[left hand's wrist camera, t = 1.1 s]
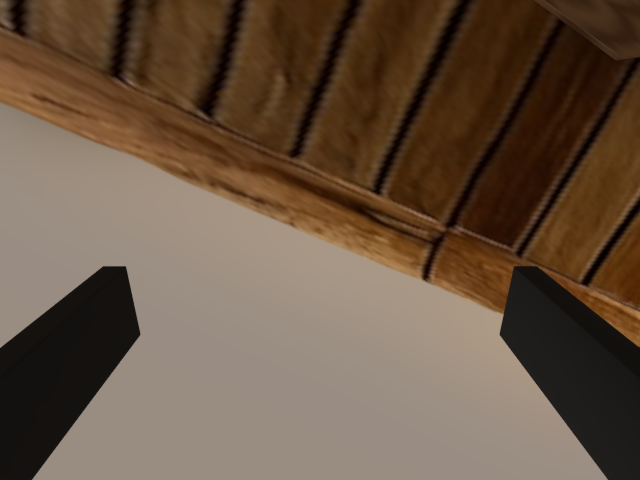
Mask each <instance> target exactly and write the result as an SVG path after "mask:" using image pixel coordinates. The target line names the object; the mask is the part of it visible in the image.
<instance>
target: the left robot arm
mask: <svg viewBox="0 0 640 480" xmlns="http://www.w3.org/2000/svg"><path fill="white" fill-rule="evenodd" d="M139 336H140V330H139V325H138V321H137V316H136V311H135V307H134V302H133V298H132V293H131V288H130V283H129V279H128V274H127V270H126V266H103V267H102V268H101V269H99V270H98V271H97V272H96V273H94V274H93V275H92V276H91V277H89V278H88V279H87V280H86V281H84V282H83V283H82V284H80V285H79V286H78V287H77V288H75V289H74V290H73V291H72V292H70V293H69V294H68V295H67V296H65V297H64V298H63V299H62V300H60V301H59V302H58V303H57V304H55V305H54V306H53V307H51V308H50V309H49V310H48V311H46V312H45V313H44V314H43V315H41V316H40V317H39V318H38V319H36V320H35V321H34V322H33V323H31V324H30V325H29V326H27V327H26V328H25V329H24V330H22V331H21V332H20V333H19V334H17V335H16V336H15V337H14V338H12V339H11V340H10V341H9V342H7V343H6V344H5V345H3V346H2V347H1V348H0V480H32V479H33V478H34V476H35V475H36V474H37V472H38V471H39V470H40V468H41V467H42V466H43V464H44V463H45V462H46V460H47V459H48V457H49V456H50V455H51V454H52V452H53V451H54V450H55V448H56V447H57V446H58V444H59V443H60V442H61V440H62V439H63V437H64V436H65V435H66V433H67V432H68V431H69V429H70V428H71V427H72V425H73V424H74V423H75V421H76V420H77V419H78V417H79V416H80V415H81V413H82V412H83V411H84V409H85V408H86V407H87V405H88V404H89V403H90V401H91V400H92V399H93V397H94V396H95V395H96V393H97V392H98V391H99V389H100V388H101V387H102V385H103V384H104V383H105V381H106V380H107V379H108V377H109V376H110V375H111V373H112V372H113V371H114V369H115V368H116V367H117V365H118V364H119V363H120V361H121V360H122V359H123V357H124V356H125V355H126V353H127V352H128V351H129V349H130V348H131V347H132V345H133V344H134V343H135V341H136V340H137V339H138V337H139ZM500 336H501V337H502V339H503V340H504V341H505V343H506V344H507V345H508V347H509V348H510V349H511V351H512V352H513V353H514V355H515V356H516V357H517V359H518V360H519V361H520V363H521V364H522V365H523V367H524V368H525V369H526V371H527V372H528V373H529V375H530V376H531V377H532V379H533V380H534V381H535V383H536V384H537V385H538V387H539V388H540V389H541V391H542V392H543V393H544V395H545V396H546V397H547V399H548V400H549V401H550V403H551V404H552V405H553V407H554V408H555V409H556V411H557V412H558V413H559V415H560V416H561V417H562V419H563V420H564V421H565V423H566V424H567V425H568V427H569V428H570V429H571V431H572V432H573V433H574V435H575V436H576V437H577V439H578V440H579V441H580V443H581V444H582V446H583V447H584V448H585V449H586V451H587V452H588V454H589V455H590V456H591V457H592V459H593V460H594V462H595V463H596V464H597V466H598V467H599V468H600V469H601V471H602V472H603V474H604V475H605V476H606V477H607V479H608V480H640V347H638V346H637V345H635V344H634V343H633V342H631V341H630V340H629V339H628V338H626V337H625V336H624V335H623V334H621V333H620V332H619V331H618V330H616V329H615V328H614V327H613V326H611V325H610V324H609V323H608V322H606V321H605V320H604V319H602V318H601V317H600V316H599V315H597V314H596V313H595V312H594V311H592V310H591V309H590V308H589V307H587V306H586V305H585V304H584V303H582V302H581V301H580V300H578V299H577V298H576V297H575V296H573V295H572V294H571V293H570V292H568V291H567V290H566V289H565V288H563V287H562V286H561V285H560V284H558V283H557V282H556V281H555V280H553V279H552V278H551V277H549V276H548V275H547V274H546V273H544V272H543V271H542V270H541V269H539V268H538V267H537V266H514V269H513V274H512V279H511V283H510V288H509V293H508V297H507V302H506V307H505V311H504V316H503V321H502V325H501V330H500Z"/></svg>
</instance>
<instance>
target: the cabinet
mask: <svg viewBox="0 0 640 480" xmlns="http://www.w3.org/2000/svg"><path fill="white" fill-rule="evenodd" d="M534 1H536V2H537V3H539V4H540V5H541V6H543V7H544V8H545V9H547V10H548V11H549V12H551V13H552V14H553V15H555V16H556V17H558V18H559V19H560V20H562V21H563V22H564V23H566V24H567V25H568V26H570V27H571V28H573V29H574V30H575V31H577V32H578V33H579V34H581V35H582V36H583V37H585V38H586V39H587V40H589V41H590V42H592V43H593V44H594V45H596V46H597V47H598V48H600V49H601V50H602V51H604V52H605V53H606V54H608V55H609V56H611V57H612V58H613V59H615V60H623V59H629V58H637V57H640V0H534Z"/></svg>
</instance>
